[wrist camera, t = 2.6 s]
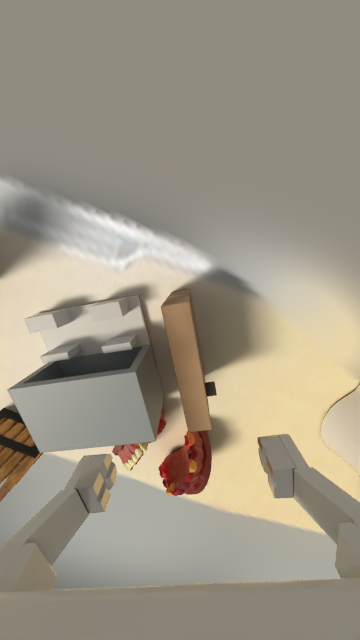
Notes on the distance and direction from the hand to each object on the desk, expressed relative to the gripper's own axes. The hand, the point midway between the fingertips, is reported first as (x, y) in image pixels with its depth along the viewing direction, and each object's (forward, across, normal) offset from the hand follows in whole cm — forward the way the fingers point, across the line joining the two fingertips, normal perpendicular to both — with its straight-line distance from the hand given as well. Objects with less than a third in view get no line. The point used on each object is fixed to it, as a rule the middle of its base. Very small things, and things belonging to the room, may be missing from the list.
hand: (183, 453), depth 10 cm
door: (+18, 0, 0) cm, 18 cm away
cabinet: (+18, -14, -2) cm, 22 cm away
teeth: (+18, -7, -18) cm, 26 cm away
